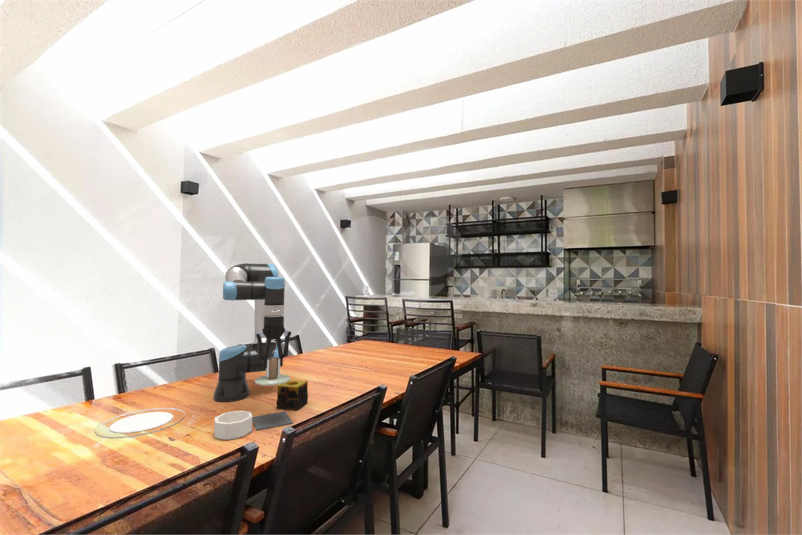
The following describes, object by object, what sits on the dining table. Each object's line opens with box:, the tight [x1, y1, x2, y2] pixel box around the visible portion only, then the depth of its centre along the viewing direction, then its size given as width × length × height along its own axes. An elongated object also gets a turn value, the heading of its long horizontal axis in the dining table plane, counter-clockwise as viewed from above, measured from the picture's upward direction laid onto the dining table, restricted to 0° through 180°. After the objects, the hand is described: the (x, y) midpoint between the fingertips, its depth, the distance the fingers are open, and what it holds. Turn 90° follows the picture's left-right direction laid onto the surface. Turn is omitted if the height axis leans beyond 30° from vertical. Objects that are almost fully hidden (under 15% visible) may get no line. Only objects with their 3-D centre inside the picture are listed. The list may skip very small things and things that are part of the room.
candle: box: [275, 379, 309, 411], centre depth 155 cm, size 10×10×10 cm
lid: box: [254, 357, 291, 387], centre depth 138 cm, size 13×13×9 cm
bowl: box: [213, 410, 253, 441], centre depth 127 cm, size 12×12×6 cm
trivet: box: [252, 410, 294, 432], centre depth 138 cm, size 13×13×1 cm
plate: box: [94, 407, 186, 439], centre depth 136 cm, size 28×28×1 cm
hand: (272, 375), depth 138 cm, fingers closed on lid, 3 cm apart
